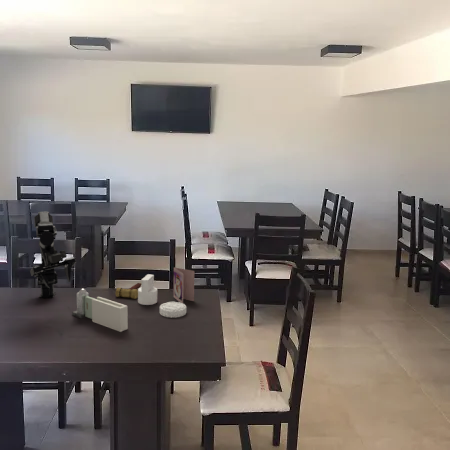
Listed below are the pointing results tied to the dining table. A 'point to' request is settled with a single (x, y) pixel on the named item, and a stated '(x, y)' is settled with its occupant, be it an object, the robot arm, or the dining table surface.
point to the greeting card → (183, 284)
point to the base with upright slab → (147, 291)
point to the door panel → (88, 306)
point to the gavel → (128, 291)
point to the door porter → (80, 303)
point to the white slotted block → (110, 314)
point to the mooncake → (173, 309)
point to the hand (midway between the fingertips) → (59, 284)
